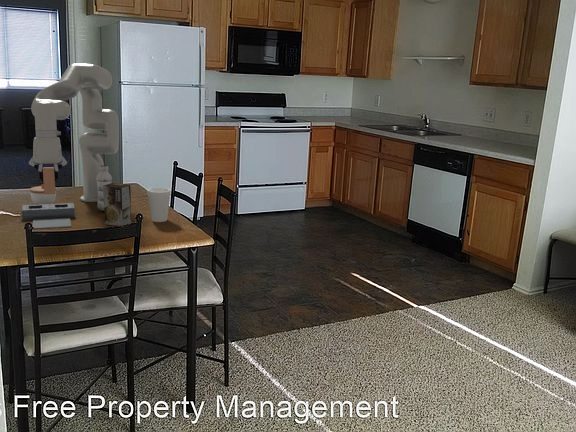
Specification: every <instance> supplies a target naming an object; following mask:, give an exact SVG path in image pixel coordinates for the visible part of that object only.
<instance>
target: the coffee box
mask: <svg viewBox="0 0 576 432" xmlns="http://www.w3.org/2000/svg"><path fill="white" fill-rule="evenodd" d="M131 196H132V195H131V184H126V183H125V184H123V183H118V182H117V183H116V182H115V183H114V182H111V183H110V184H107V185H104V186H103V198H104V211H103V215H104V225H110V226H116V227H117V226H118V227H121V226H120V225H126V224H128V225H130V224H132V202H131V200H132V199H131V198H132V197H131ZM126 226H127V225H126Z"/></svg>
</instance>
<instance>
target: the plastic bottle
mask: <svg viewBox="0 0 576 432" xmlns="http://www.w3.org/2000/svg"><path fill="white" fill-rule="evenodd" d="M99 170H100V172H99V173H98V175H97V178H96V180H97V185H98V202H97V205H96V206H97V208H98V209H97V210H99V211H102V212H104V198H103V186H104V185H107V184H110V183H113V182H112V180H113V177H112V175H111V174H110V171H109V165H107V164H104V165H101V166H99Z"/></svg>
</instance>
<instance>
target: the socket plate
mask: <svg viewBox="0 0 576 432" xmlns="http://www.w3.org/2000/svg"><path fill="white" fill-rule="evenodd" d="M75 209H76V208H75V204H74V202H64V203H63V202H61V203H52V204H37V205H36V204H22V207H21V220H22V221H27V220H28V221H29V220H43V219H63V218H70V219H71V218H75V217H76V212H75V211H76V210H75Z"/></svg>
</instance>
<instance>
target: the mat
mask: <svg viewBox="0 0 576 432" xmlns="http://www.w3.org/2000/svg"><path fill="white" fill-rule="evenodd" d="M32 227H34V229H33V230H41V229H56V228H58V229H59V228H71V227H72V222H71V217H70V218H50V219H32Z"/></svg>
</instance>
